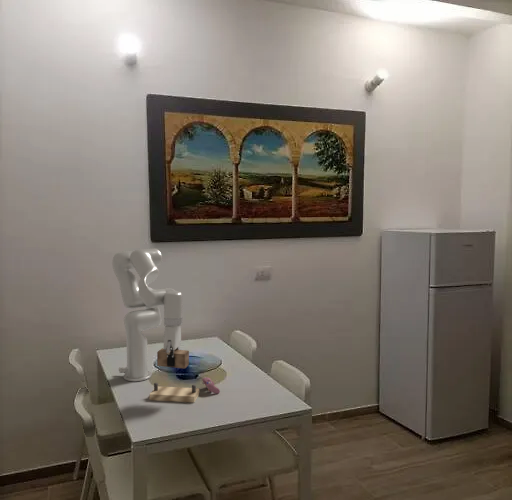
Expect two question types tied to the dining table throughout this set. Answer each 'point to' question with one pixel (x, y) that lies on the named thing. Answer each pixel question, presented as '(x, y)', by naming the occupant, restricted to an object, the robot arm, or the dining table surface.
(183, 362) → the walnut bar
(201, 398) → the dining table surface
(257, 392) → the dining table surface
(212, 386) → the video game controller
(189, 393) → the peg stand
